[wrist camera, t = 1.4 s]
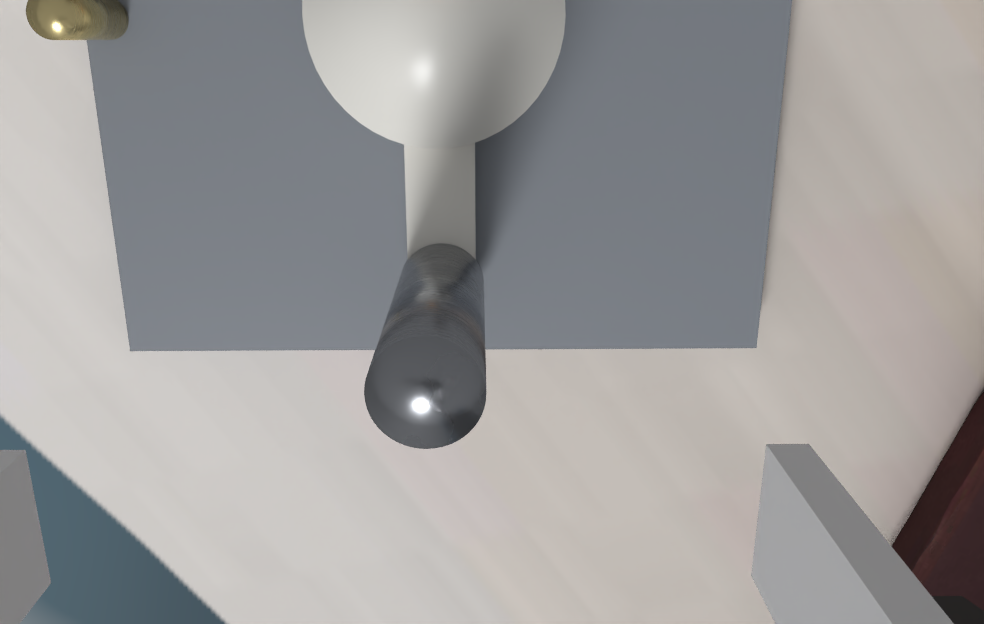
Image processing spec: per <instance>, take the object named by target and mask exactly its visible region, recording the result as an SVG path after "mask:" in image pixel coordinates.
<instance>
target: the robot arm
mask: <svg viewBox="0 0 984 624" xmlns="http://www.w3.org/2000/svg"><path fill="white" fill-rule="evenodd" d="M751 576H752V578H753V580H754V582H755V584H756V586H757V588H758V590H759V592H760V594H761V596H762V598H763V600H764V602H765V604H766V606H767V608H768V610H769V612H770V614H771V616H772V618H773V620H774V621H775V623H776V624H984V611H983V610H982V609H980V608H979V607H978V606H976V605H975V604H973V603H972V602H970V601H969V600H967V599H966V598H964V597H963V596H931V595H930V594H929V592H928V591H927V590H926V589H925V587H924V586H923V585H922V584H921V583H920V581H919V580H918V579H917V578H916V576H915V575H914V574H913V573H912V571H911V570H910V569H909V568H908V566H907V565H906V564H905V563H904V561H903V560H902V559H901V558H900V556H899V555H898V554H897V553H896V552H895V550H894V549H893V548H892V547H891V545H890V544H889V543H888V542H887V540H886V539H885V538H884V537H883V535H882V534H881V533H880V532H879V530H878V529H877V528H876V527H875V525H874V524H873V523H872V522H871V520H870V519H869V518H868V517H867V516H866V514H865V513H864V512H863V511H862V509H861V508H860V507H859V506H858V504H857V503H856V502H855V501H854V499H853V498H852V497H851V496H850V494H849V493H848V492H847V491H846V489H845V488H844V487H843V486H842V485H841V483H840V482H839V481H838V480H837V478H836V477H835V476H834V475H833V473H832V472H831V471H830V470H829V468H828V467H827V466H826V465H825V463H824V462H823V461H822V460H821V458H820V457H819V456H818V455H817V454H816V452H815V451H814V450H813V449H812V447H811V446H810V445H809V444H766V451H765V460H764V469H763V478H762V486H761V495H760V504H759V512H758V521H757V530H756V538H755V547H754V556H753V565H752V573H751ZM50 583H51V581H50V575H49V570H48V565H47V560H46V554H45V549H44V544H43V539H42V534H41V528H40V523H39V518H38V513H37V508H36V503H35V497H34V492H33V487H32V482H31V477H30V472H29V466H28V462H27V456H26V451H25V450H0V624H19V623H20V622H21V621H22V619H23V618H24V617H25V616H26V614H27V613H28V612H29V610H30V609H31V608H32V607H33V605H34V604H35V603H36V602H37V600H38V599H39V598H40V596H41V595H42V594H43V592H44V591H45V590H46V589H47V587H48V586H49V585H50Z"/></svg>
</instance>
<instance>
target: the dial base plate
mask: <svg viewBox="0 0 984 624" xmlns="http://www.w3.org/2000/svg"><path fill="white" fill-rule="evenodd" d="M791 6H792V0H565V11H566V18H565V29H564V37H563V41H562V46H561V51H560V54H559V57H558V60H557V63H556V65H555V68H554V70H553V72H552V74H551V76H550V78H549V80H548V82H547V84H546V86H545V87H544V89H543V90H542V92H541V93H540V95H539V96H538V98H537V99H536V100H535V101H534V103H533V104H532V105H531V106H530V107H529V108H528V109H527V111H526V112H524V113H523V114H522V115H521V116H520V117H519V118H518V119H517V120H516V121H514V122H513V123H512V124H510V125H509V126H507V127H506V128H504V129H503V130H501V131H500V132H498V133H496V134H494V135H492V136H490V137H488V138H486V139H484V140H481V141H478V142H475V226H476V260H477V261H478V263H479V265H480V267H481V269H482V272H483V277H484V307H485V349H651V348H756V347H757V337H758V328H759V318H760V308H761V298H762V289H763V279H764V269H765V259H766V250H767V240H768V230H769V220H770V211H771V201H772V191H773V181H774V172H775V162H776V152H777V142H778V133H779V123H780V113H781V103H782V94H783V84H784V74H785V64H786V55H787V45H788V35H789V25H790V16H791ZM26 15H27V19H28V22H29V24H30V26H31V27H32V29H33V30H34V31H35V32H36V33H37V34H39V35H40V36H42V37H44V38H46V39H50V40H87V45H88V52H89V59H90V66H91V73H92V80H93V88H94V95H95V102H96V109H97V116H98V123H99V130H100V138H101V145H102V152H103V159H104V166H105V173H106V181H107V188H108V195H109V202H110V209H111V216H112V223H113V231H114V238H115V245H116V252H117V259H118V266H119V274H120V281H121V288H122V295H123V302H124V309H125V316H126V324H127V331H128V338H129V345H130V351H231V350H376V347H377V344H378V341H379V338H380V335H381V332H382V329H383V326H384V323H385V320H386V317H387V314H388V311H389V308H390V305H391V302H392V299H393V296H394V293H395V290H396V287H397V284H398V281H399V278H400V275H401V272H402V269H403V267H404V265H405V262H406V261H407V259H408V257H407V225H406V193H405V161H404V144H401V143H398V142H395V141H392V140H389V139H387V138H385V137H383V136H381V135H379V134H377V133H375V132H373V131H371V130H370V129H368V128H367V127H365V126H364V125H362V124H361V123H359V122H358V121H357V120H356V119H354V118H353V117H352V116H351V115H350V114H349V113H347V112H346V111H345V110H344V109H343V108H342V106H341V105H340V104H339V103H338V102H337V101H336V100H335V99H334V97H333V96H332V95H331V93H330V92H329V90H328V89H327V88H326V86H325V85H324V83H323V81H322V79H321V77H320V76H319V74H318V72H317V70H316V68H315V66H314V63H313V60H312V58H311V55H310V53H309V49H308V45H307V42H306V38H305V33H304V26H303V18H302V0H28V3H27V6H26Z"/></svg>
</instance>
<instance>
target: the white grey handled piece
mask: <svg viewBox="0 0 984 624" xmlns="http://www.w3.org/2000/svg"><path fill="white" fill-rule="evenodd" d="M302 18H303V26H304V33H305V38H306V42H307V45H308V49H309V53H310V55H311V58H312V60H313V63H314V66H315V68H316V70H317V72H318V74H319V76H320V77H321V79H322V81H323V83H324V85H325V86H326V88H327V89H328V90H329V92H330V93H331V95H332V96H333V97H334V99H335V100H336V101H337V102H338V103H339V104H340V105H341V106H342V108H343V109H344V110H345V111H346V112H347V113H349V114H350V115H351V116H352V117H353V118H354V119H356V120H357V121H358V122H359V123H361V124H362V125H364V126H365V127H367V128H368V129H370V130H371V131H373V132H375V133H377V134H379V135H381V136H383V137H385V138H387V139H389V140H392V141H395V142H398V143H401V144H404V161H405V193H406V225H407V257H408V259H407V261H406V262H405V265H404V267H403V269H402V272H401V275H400V278H399V281H398V284H397V287H396V290H395V293H394V296H393V299H392V302H391V305H390V308H389V311H388V314H387V317H386V320H385V323H384V326H383V329H382V332H381V335H380V338H379V341H378V344H377V347H376V350H375V353H374V356H373V359H372V362H371V365H370V368H369V371H368V374H367V377H366V381H365V388H364V395H365V402H366V406H367V409H368V412H369V414H370V416H371V418H372V420H373V421H374V423H375V424H376V425H377V427H378V428H379V429H380V430H381V431H382V432H383V433H384V434H386V435H387V436H388V437H390V438H391V439H393V440H395V441H396V442H399V443H401V444H403V445H406V446H410V447H414V448H423V449H430V448H438V447H443V446H446V445H449V444H452V443H454V442H456V441H458V440H459V439H461V438H463V437H464V436H465V435H466V434H468V433H469V432H470V431H471V430H472V429H473V428H474V426H475V425H476V424H477V422H478V421H479V419H480V417H481V415H482V412H483V410H484V406H485V402H486V358H485V307H484V277H483V272H482V269H481V267H480V265H479V263H478V261H477V260H476V226H475V142H478V141H481V140H484V139H486V138H488V137H490V136H492V135H494V134H496V133H498V132H500V131H501V130H503V129H504V128H506V127H507V126H509V125H510V124H512V123H513V122H514V121H516V120H517V119H518V118H519V117H520V116H521V115H522V114H523V113H524V112H526V111H527V109H528V108H529V107H530V106H531V105H532V104H533V103H534V101H535V100H536V99H537V98H538V96H539V95H540V93H541V92H542V90H543V89H544V87H545V86H546V84H547V82H548V80H549V78H550V76H551V74H552V72H553V70H554V68H555V65H556V63H557V60H558V57H559V54H560V51H561V46H562V41H563V37H564V29H565V18H566V11H565V0H302Z"/></svg>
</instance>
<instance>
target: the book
mask: <svg viewBox="0 0 984 624" xmlns="http://www.w3.org/2000/svg"><path fill="white" fill-rule="evenodd" d="M892 548H893V549H894V550H895V552H896V553H897V554H898V555H899V556H900V558H901V559H902V560H903V561H904V563H905V564H906V565H907V566H908V568H909V569H910V570H911V571H912V573H913V574H914V575H915V576H916V578H917V579H918V580H919V581H920V583H921V584H922V585H923V586H924V587H925V589H926V590H927V591H928V592H929V594H930V595H931V596H963V597H964V598H966V599H967V600H969V601H970V602H972V603H973V604H975V605H976V606H978V607H979V608H980V609H982V610H983V611H984V392H983V393H982V395H981V396H980V397H979V399H978V400H977V401H976V403H975V404H974V406H973V408H972V410H971V411H970V413H969V415H968V417H967V418H966V420H965V422H964V423H963V425H962V427H961V429H960V430H959V432H958V434H957V436H956V437H955V439H954V441H953V443H952V444H951V446H950V448H949V450H948V451H947V453H946V455H945V456H944V458H943V459H942V461H941V463H940V465H939V466H938V468H937V470H936V472H935V474H934V475H933V477H932V479H931V481H930V482H929V484H928V486H927V488H926V489H925V491H924V493H923V494H922V496H921V498H920V500H919V501H918V503H917V505H916V507H915V508H914V510H913V512H912V514H911V515H910V517H909V519H908V520H907V522H906V524H905V525H904V527H903V528H902V530H901V532H900V533H899V535H898V536H897V538H896V540H895V542H894V543H893V545H892Z"/></svg>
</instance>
